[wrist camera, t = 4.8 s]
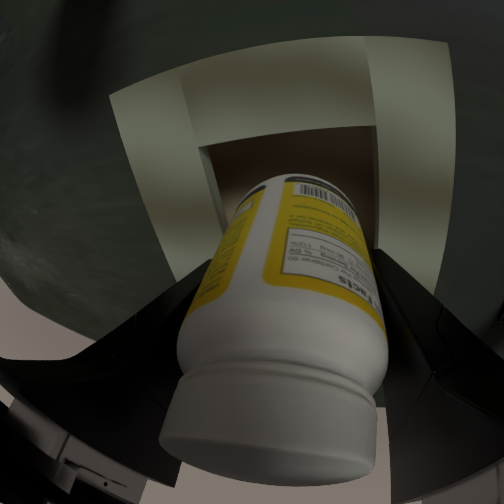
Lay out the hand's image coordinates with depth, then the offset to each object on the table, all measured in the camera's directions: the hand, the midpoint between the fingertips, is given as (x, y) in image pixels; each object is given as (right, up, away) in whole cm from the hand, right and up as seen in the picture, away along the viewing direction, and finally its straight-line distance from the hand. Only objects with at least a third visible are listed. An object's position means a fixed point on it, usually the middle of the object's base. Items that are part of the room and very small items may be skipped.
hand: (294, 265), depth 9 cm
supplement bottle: (0, +1, +2) cm, 2 cm away
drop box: (+2, +5, +7) cm, 9 cm away
